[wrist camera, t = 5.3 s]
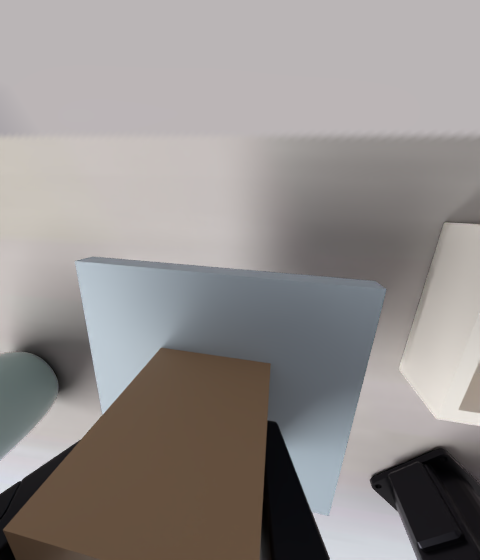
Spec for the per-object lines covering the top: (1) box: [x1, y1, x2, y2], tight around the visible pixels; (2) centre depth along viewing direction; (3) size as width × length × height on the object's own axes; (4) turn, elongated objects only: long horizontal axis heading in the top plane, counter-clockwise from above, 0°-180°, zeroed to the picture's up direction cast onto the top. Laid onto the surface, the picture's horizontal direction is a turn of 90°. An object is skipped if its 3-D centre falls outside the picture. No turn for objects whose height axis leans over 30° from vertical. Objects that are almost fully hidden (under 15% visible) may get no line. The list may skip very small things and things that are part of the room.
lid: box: [3, 257, 387, 560], centre depth 7 cm, size 10×10×6 cm
